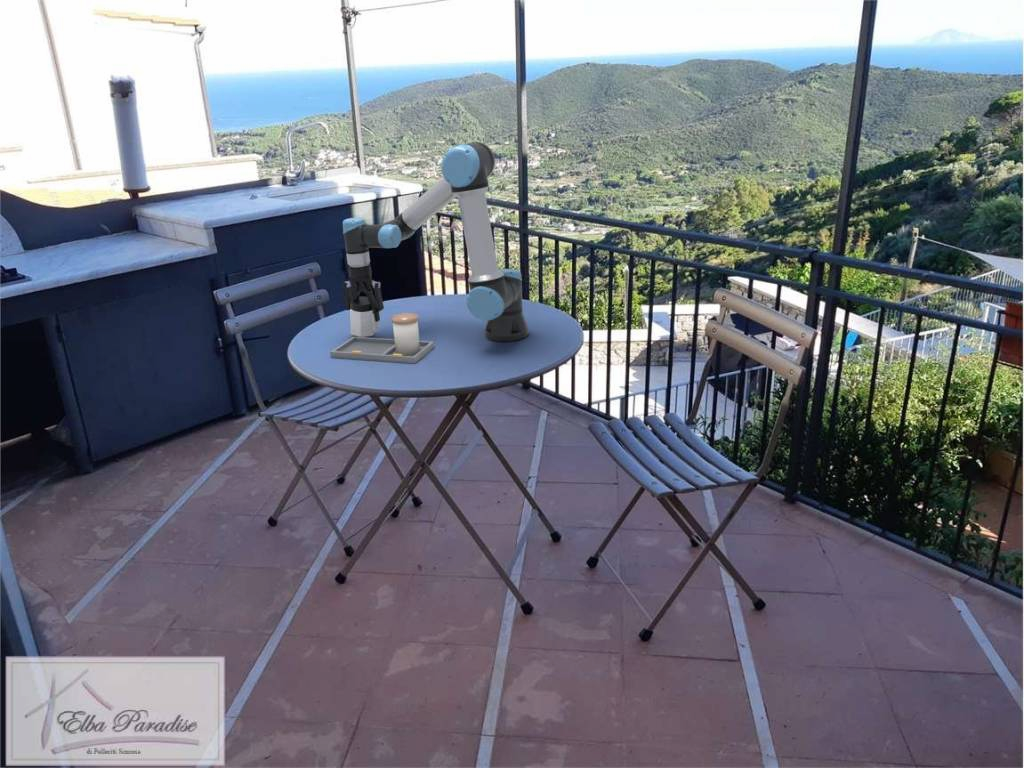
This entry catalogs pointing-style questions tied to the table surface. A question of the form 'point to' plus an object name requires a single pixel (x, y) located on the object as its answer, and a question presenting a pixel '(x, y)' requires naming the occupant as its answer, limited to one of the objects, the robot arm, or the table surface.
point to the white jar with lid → (406, 334)
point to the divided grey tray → (377, 350)
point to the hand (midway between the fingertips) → (367, 329)
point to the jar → (361, 317)
